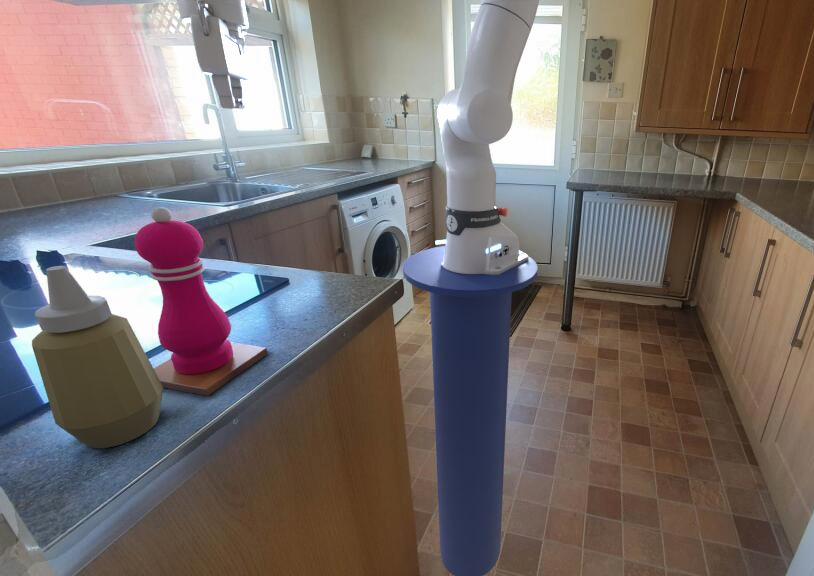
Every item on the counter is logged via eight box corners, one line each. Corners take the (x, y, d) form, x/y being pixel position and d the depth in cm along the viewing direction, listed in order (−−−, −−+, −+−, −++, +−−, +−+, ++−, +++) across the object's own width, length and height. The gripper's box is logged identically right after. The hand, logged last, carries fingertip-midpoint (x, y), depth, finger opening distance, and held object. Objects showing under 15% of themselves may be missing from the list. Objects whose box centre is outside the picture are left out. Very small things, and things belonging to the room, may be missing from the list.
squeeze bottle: (116, 465, 38) (37, 290, 31) (45, 451, 40) (-47, 280, 33) (191, 409, 46) (141, 257, 39) (129, 399, 47) (70, 250, 40)
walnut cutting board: (209, 344, 58) (207, 338, 58) (268, 353, 57) (266, 347, 56) (140, 383, 50) (137, 376, 49) (207, 396, 48) (205, 389, 48)
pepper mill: (216, 341, 57) (176, 198, 49) (250, 355, 54) (213, 206, 47) (156, 367, 51) (100, 208, 43) (191, 384, 48) (138, 218, 41)
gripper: (225, -1, 56) (246, 109, 61) (247, 24, 73) (262, 109, 78) (168, -8, 53) (195, 107, 59) (204, 20, 71) (223, 107, 76)
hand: (234, 108), depth 69 cm, fingers open, 8 cm apart
